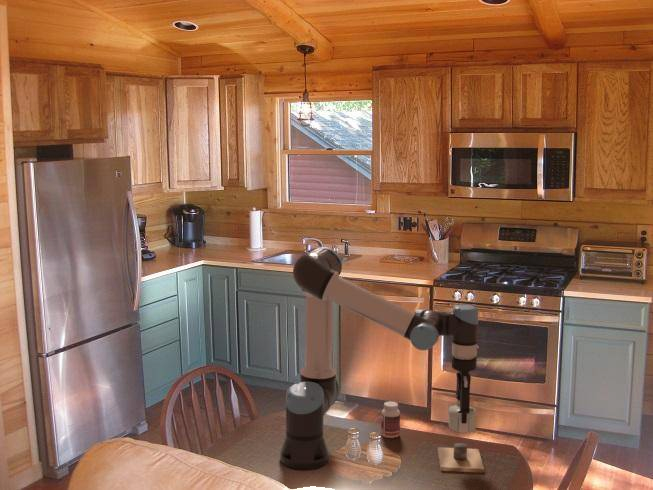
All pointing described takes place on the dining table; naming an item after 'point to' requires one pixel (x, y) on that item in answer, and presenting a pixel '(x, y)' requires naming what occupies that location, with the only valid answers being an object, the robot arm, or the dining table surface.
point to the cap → (455, 418)
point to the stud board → (457, 464)
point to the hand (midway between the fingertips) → (461, 426)
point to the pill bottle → (390, 420)
